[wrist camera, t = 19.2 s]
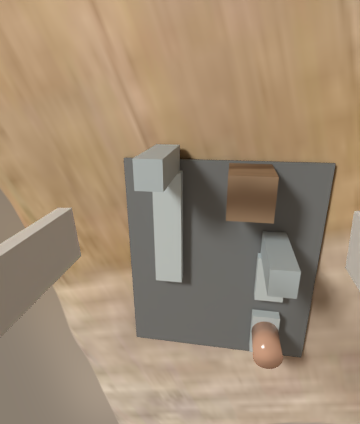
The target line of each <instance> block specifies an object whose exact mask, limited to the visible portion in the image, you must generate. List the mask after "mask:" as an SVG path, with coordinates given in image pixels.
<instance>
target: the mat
mask: <svg viewBox="0 0 360 424" xmlns="http://www.w3.org/2000/svg"><path fill="white" fill-rule="evenodd" d="M132 159H133V158H124V168H125V182H126V196H127V209H128V223H129V237H130V250H131V264H132V278H133V292H134V305H135V319H136V333H137V337H142V338H150V339H158V340H166V341H174V342H182V343H190V344H198V345H206V346H214V347H222V348H230V349H237V350H245V351H249V340H250V329H251V319H252V309H254V310H263V311H273V312H279V316H280V324H279V331H278V333H279V339H280V344H281V350H282V355H285V356H293V357H301V356H302V351H303V345H304V339H305V334H306V328H307V322H308V317H309V311H310V305H311V300H312V294H313V289H314V283H315V277H316V272H317V266H318V260H319V255H320V249H321V243H322V238H323V232H324V226H325V221H326V215H327V209H328V204H329V198H330V193H331V187H332V181H333V176H334V170H335V163H309V162H271V161H233V160H195V159H180V171H183V279H182V283H181V282H170V281H159V280H156V268H155V243H154V219H153V194H152V192H148V191H134V176H133V160H132ZM229 163H248V164H272V165H273V167H274V169H275V171H276V173H277V175H278V176H279V181H278V190H277V199H276V208H275V217H274V224H272V223H255V222H238V221H226V207H227V187H228V172H229ZM263 231H269V232H285V233H287V236H288V238H289V241H290V244H291V246H292V249H293V252H294V255H295V257H296V260H297V263H298V265H299V268H300V271H301V275H300V281H299V288H298V294H297V299H292V298H283V302H272V301H262V300H254V287H255V276H256V266H257V255H258V253H261V244H262V234H263Z"/></svg>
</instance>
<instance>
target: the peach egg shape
mask: <svg viewBox="0 0 360 424" xmlns="http://www.w3.org/2000/svg"><path fill="white" fill-rule="evenodd" d="M251 332H252V347H253V359H254V361H255V363H256V364H257V365H258V366H260V367H262V368H266V369H272V368H276V367H278V366H279V365H280V364H281V363H282V361H283V355H282V350H281V344H280V339H279V333H278V329H277V327H276V326H275V325H274V324H272V323H270V322H259V323H256V324H255V325H254V326H253V327H252V331H251Z"/></svg>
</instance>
